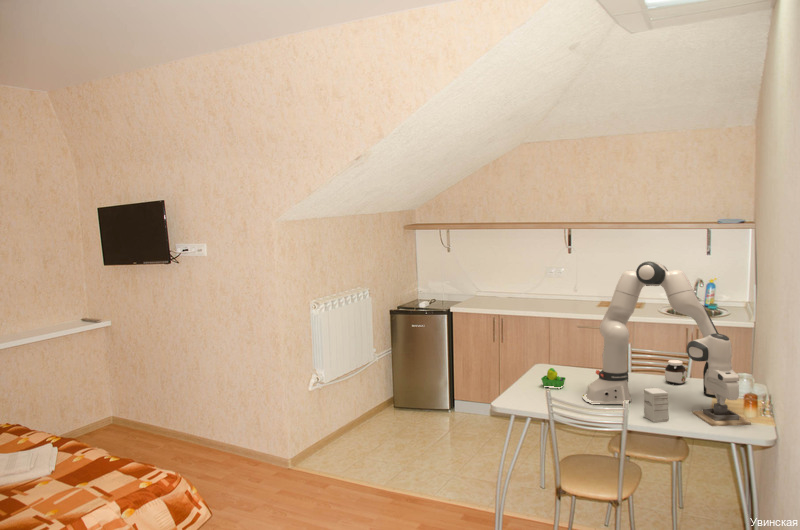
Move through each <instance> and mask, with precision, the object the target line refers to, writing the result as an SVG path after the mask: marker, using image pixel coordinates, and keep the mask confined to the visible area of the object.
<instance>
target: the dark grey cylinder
mask: <svg viewBox="0 0 800 530" xmlns="http://www.w3.org/2000/svg"><path fill="white" fill-rule="evenodd" d="M712 406H713V407H712V408H714V415H716V416H719V415H728V409H729V408H728V405H727V404H725V405H720V404H718V403H717V402H716V403H713V404H712Z"/></svg>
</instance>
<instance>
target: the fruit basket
mask: <svg viewBox="0 0 800 530" xmlns="http://www.w3.org/2000/svg"><path fill="white" fill-rule="evenodd" d="M540 379H541V382H542V386H543V385H544V386H554V387H561V386H563V385H565V382H566V377H564V376H559V375H558V372H557V370H555V369H554V368H553V367H550V368H549V369H547V373H546V375H544V376H542V377H541V378H540ZM544 386H543V387H544ZM563 387H564V386H563Z"/></svg>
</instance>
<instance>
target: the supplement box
mask: <svg viewBox="0 0 800 530" xmlns="http://www.w3.org/2000/svg"><path fill="white" fill-rule="evenodd" d="M643 409H644V410H643V411H644V412H643V417H644V418H647V419H648V420H649V421H651V422H653V423H659V422H660V423H661V422H662V423H663V422H669V392H668V391H666V390H664V389H662V388H660V387H654V388H653V387H652V388H644V389H643Z"/></svg>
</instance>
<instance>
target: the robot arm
mask: <svg viewBox="0 0 800 530" xmlns="http://www.w3.org/2000/svg"><path fill="white" fill-rule="evenodd" d="M645 286H646V287H659V286H661V288H663V290H664V292H665V294H666V296H667V299H668V303H669V305H670V306H671V308H672V310H673V311H675V312H676V313H678V314H681V315H685V316H688V317H690V318H691V319H692V320H693V321H695V323H696V325H697V327H698V328H699V331H700V333H701V334H702V336H703V338H698V339H694V340H691V341H689V342H688V343H687V346H686V354H687V356H688V357H689V359H690V360H692V361H694V362H706V361H707V362H708V369H707V372H706V373H705V379H704V383H703V386H704V385H705V387H706V388H707V389H709V390H711V391H713V392H715V396H716V397H715V398H716V403H718V404H720V405H725V403H726V400H728V401H737V400H738V399H739V397H740V385H739V381H740V377H739V375H738V374H737V373H736V371H735V370H734V369H733V364H732V357H733V349H732V342H731V339H730V337H729V336H727V335H725V334H722V333H719V332H718V330H717V328H716V326H715V324H714V322H713V320H712V318H711V317H710V314H709V313H708V311H707V309H706V308H705V306H704V305H703V304H702V303H701V302H700V301H699V299H698V297H697V296H696V294H695V291H694V290H693V286H692V284H691V283H690V280H689V279H688V277H687V275H686V273H684V271H682V270H680V269H672V270H668V269H667V267H666V266H665V265H663V264H661V263H660V262H656V261H644V262H642V263H640V264H639V265H638V267H637V268H636V271H635V270H626V271H624V272H623V273H622V274H621V276H620V277H619V280H618V282H617V283H616V287H615V289H614V291H613V294H612V297H611V300H610V303H609V306H608V308H607V310H606V312H605V314H604V316H603V318H602V320H601V322H600V324H599V333H600V334H601V336H602V337H603V349H602V350H603V351H602V354H601V355H602V370H598V369H596V370H595V374H596V375H598V377H597V379H595V380H594V381H593V382H591V383H589V384H588V386H587V389H586V394H587V395H586V397H587V399H589V400H591V401H593V402H591V403H600V404H623V401H624V400H629V401H630V402H632V398H631V394H630V390H629V384H628V383H629V371H628V356H627V354H628V349H629V341H630V340H629V338H630V331H629V328H628V326H627V324H628V322H629V320H630V318H631V316H632V315H633V313H634V312H635V309H636V306H637V303H638V300H639V298H640V294H641V292H642V289H643V288H644V287H645Z"/></svg>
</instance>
